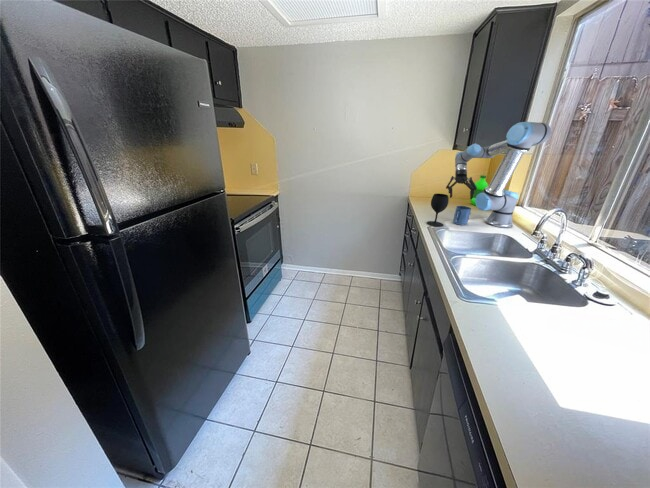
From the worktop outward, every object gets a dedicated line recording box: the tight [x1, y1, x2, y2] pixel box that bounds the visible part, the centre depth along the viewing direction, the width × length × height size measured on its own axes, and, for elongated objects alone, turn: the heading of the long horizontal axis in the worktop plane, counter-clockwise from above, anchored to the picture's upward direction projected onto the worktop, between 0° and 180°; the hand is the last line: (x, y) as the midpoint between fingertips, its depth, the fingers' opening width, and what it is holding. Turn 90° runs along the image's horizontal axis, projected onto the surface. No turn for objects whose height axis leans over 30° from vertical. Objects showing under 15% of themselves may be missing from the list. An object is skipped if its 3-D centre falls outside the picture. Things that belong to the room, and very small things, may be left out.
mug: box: [452, 205, 472, 226], centre depth 175 cm, size 12×9×11 cm
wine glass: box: [426, 193, 450, 228], centre depth 170 cm, size 10×10×20 cm
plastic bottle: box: [469, 174, 489, 206], centre depth 220 cm, size 10×10×25 cm
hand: (461, 197), depth 181 cm, fingers open, 13 cm apart
